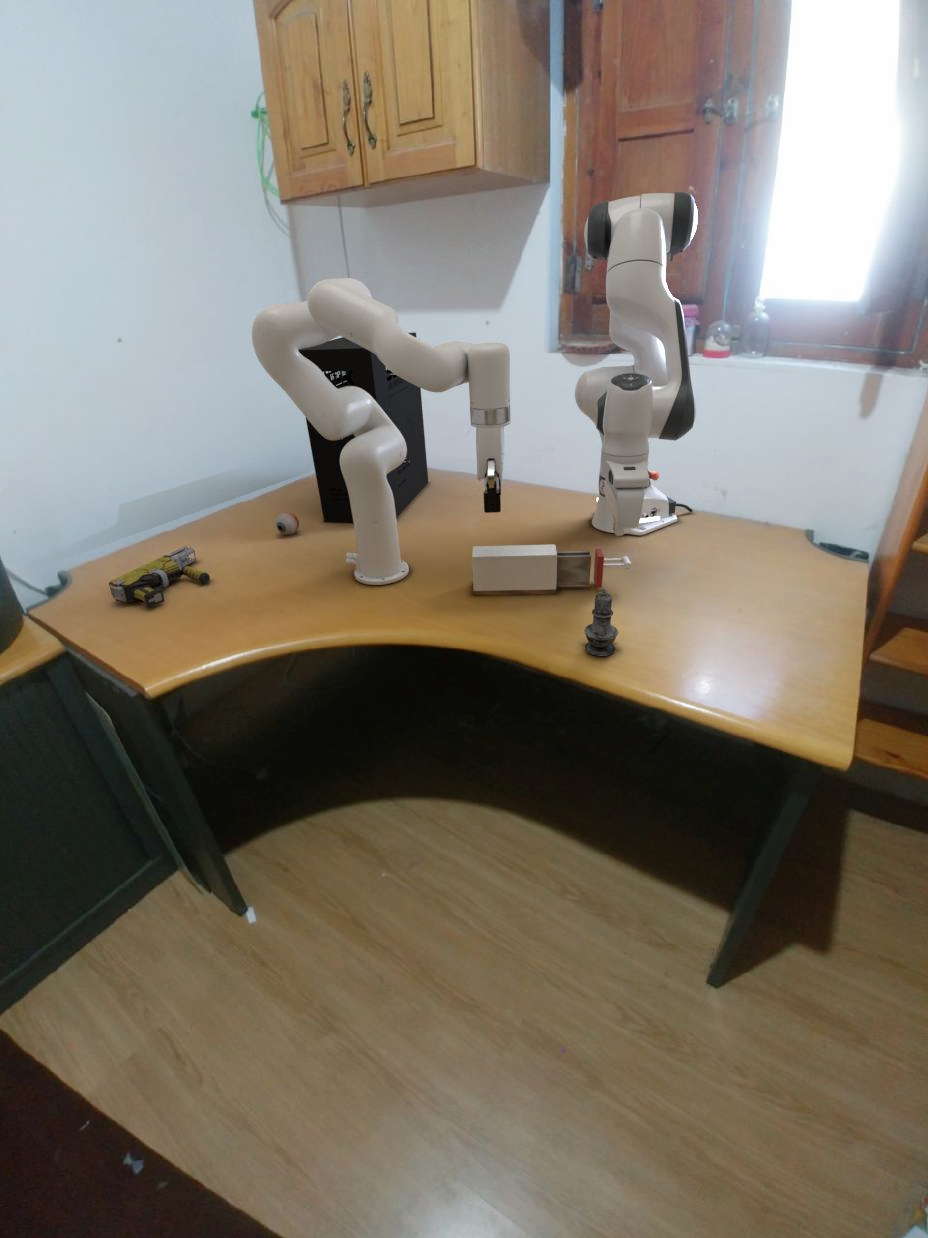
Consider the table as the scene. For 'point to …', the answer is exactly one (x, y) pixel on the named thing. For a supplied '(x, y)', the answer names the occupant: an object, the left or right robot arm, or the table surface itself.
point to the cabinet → (514, 569)
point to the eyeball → (287, 523)
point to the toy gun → (155, 578)
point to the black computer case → (394, 400)
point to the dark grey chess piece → (601, 627)
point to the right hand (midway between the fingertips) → (618, 532)
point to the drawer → (584, 567)
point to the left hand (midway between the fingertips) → (492, 503)
